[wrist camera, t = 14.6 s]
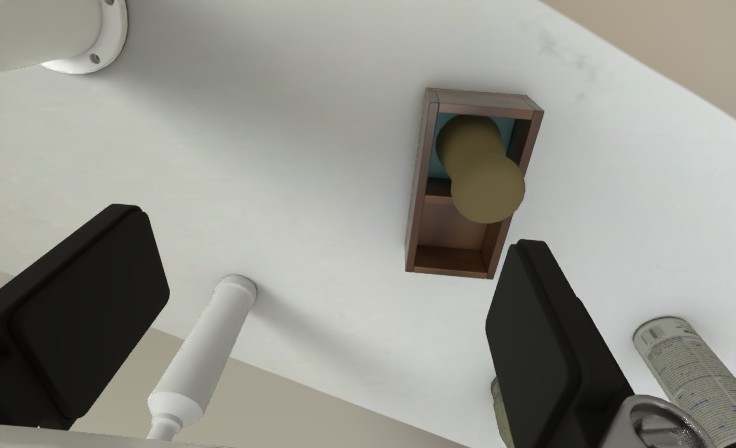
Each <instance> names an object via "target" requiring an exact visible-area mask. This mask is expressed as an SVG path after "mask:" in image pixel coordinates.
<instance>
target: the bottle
mask: <svg viewBox="0 0 736 448" xmlns="http://www.w3.org/2000/svg"><path fill="white" fill-rule="evenodd" d="M256 295H257V289H256V287H255V285H254V284H253V283H252V282H251V281H250V280H249V279H247V278H245V277H243V276H239V275H229V276H227V277H225V278H224V279H222V280H221V281H220V282H219V284H218V285H217V287H216V288H215V290H214V296H213V298H212V299H211V301H210V302H209V304H208V305H207V307H206V309H205V310H204V312H203V313H202V315H201V317H200V318H199V320H198V321H197V323H196V324H195V326H194V328H193V329H192V331H191V332H190V334H189V335H188V337H187V339H186V340H185V342H184V343H183V345H182V346H181V348H180V350H179V351H178V353H177V354H176V356H175V358H174V359H173V361H172V362H171V364H170V365H169V367H168V369H167V370H166V372H165V373H164V375H163V377H162V378H161V379H160V381H159V383H158V384H157V386H156V387H155V389H154V391H153V392H152V394H151V395H150V397H149V399H148V400H147V401H148V407H149V409H150V412H151V414H152V416H153V419H152V421H151V425H152V426H153V427H152V429H151V431H150V433H149V435H148V436H147V438H146V439H156V440H165V441H171V440H172V438H173V436H174V434H177V433H179V432H180V431H181V429H182V428H183V427H186V426H188V425H191V424H194V423H196V422H199V421H200V420H201V418H202V417H203V415H204V413H205V411H206V408H207V406H208V404H209V401H210V399H211V396H212V394H213V392H214V390H215V387H216V385H217V383H218V381H219V378H220V376H221V374H222V371H223V369H224V367H225V364H226V362H227V359H228V358H229V355H230V353H231V351H232V348H233V346H234V344H235V341H236V339H237V337H238V334H239V332H240V330H241V328H242V325H243V323H244V321H245V318H246V316H247V314H248V311H249V310H251V308H252V307H253V306H254V303H255V301H256Z"/></svg>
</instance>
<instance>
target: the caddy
mask: <svg viewBox="0 0 736 448" xmlns="http://www.w3.org/2000/svg"><path fill="white" fill-rule="evenodd" d="M460 114H462V115H475V116H488V117H489V118H490V119H492V120H493V121H494V122H495V123H496V125H497V127H498V128H499V130H500V134H501V138H502V142H503V146H504V150H505V154H506V157H507V158H509V159H510V160H511V161H513V162H514V163H515V164H516V165H517V166H518V167H519V169H520V171H521V173H522V174H523V176H524V177H525V174H526V170H527V167H528V164H529V161H530V157H531V154H532V151H533V147H534V144H535V141H536V138H537V134H538V131H539V128H540V125H541V121H542V118H543V115H544V110H543V109H541V108H540V107H539V106H538V105H537V104H536V103H535V102H533V101H532V100H531V99H530V98H529V97H528V96H527V95H514V94H501V93H488V92H475V91H462V90H449V89H436V88H426V91H425V98H424V106H423V113H422V120H421V128H420V135H419V143H418V150H417V157H416V165H415V172H414V180H413V187H412V194H411V202H410V209H409V216H408V224H407V231H406V239H405V271H406V272H415V273H426V274H437V275H448V276H459V277H470V278H481V279H485V278H486V279H492V280H493V278H494V275H495V272H496V269H497V265H498V262H499V259H500V256H501V252H502V249H503V246H504V242H505V239H506V236H507V233H508V229H509V226H510V223H511V220H512V216H513V213H512V214H511V215H510V216H509V217H507V218H505V219H503V220H502V221H499V222H494V223H478V222H474V221H471V220H469V219H467V218H466V217H465V216H463V215H462V214H461V213H460V212H459V211H458V209H457V208H456V206H455V205H454V203H453V199H452V195H451V184H452V180H451V178H450V177H449V175H448V173H447V172H446V170H445V169H444V167H443V165H442V164H441V162H440V161H439V159H438V157H437V153H436V149H435V147H436V138H437V136H438V134H439V131H440V129H441V128H442V127H443V126H444V125H445V124H446V122H447V121H449V120H450V119H452V118H453V117H455V116H457V115H460Z"/></svg>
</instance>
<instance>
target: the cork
mask: <svg viewBox="0 0 736 448" xmlns="http://www.w3.org/2000/svg"><path fill="white" fill-rule="evenodd" d="M435 149H436V153H437V157H438V159H439V161H440V162H441V164H442V165H443V167H444V169H445V170H446V172H447V173H448V175H449V177H450V178H451V180H452V184H451V195H452V199H453V203H454V205H455V206H456V208H457V209H458V211H459V212H460V213H461V214H462V215H463V216H465V217H466V218H467V219H469V220H471V221H474V222H478V223H494V222H499V221H502V220H503V219H505V218H507V217H509V216H510V215H511V214H512V213H514V212H515V211H516V210H517V209H518V207H519V206H520V204H521V202H522V201H523V198H524V194H525V182H524V176H523V174H522V173H521V171H520V169H519V167H518V166H517V165H516V164H515V163H514V162H513V161H511V160H510V159H509V158H507V157H506V154H505V150H504V146H503V142H502V138H501V134H500V130H499V128H498V127H497V125H496V123H495V122H494V121H493V120H492V119H490V118H489V117H488V116H475V115H462V114H460V115H457V116H455V117H453V118H452V119H450V120H449V121H447V122H446V124H445V125H444V126H443V127H442V128H441V129H440V131H439V134H438V136H437V138H436V147H435Z"/></svg>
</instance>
